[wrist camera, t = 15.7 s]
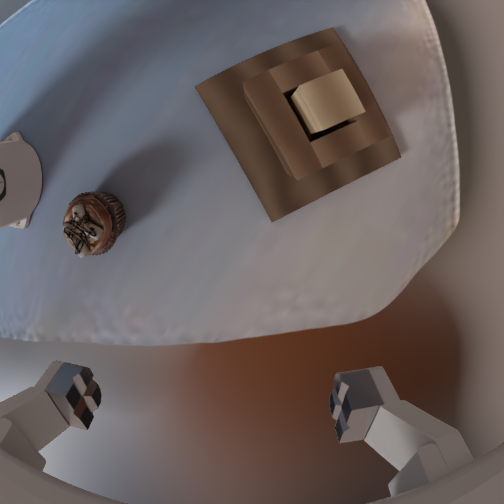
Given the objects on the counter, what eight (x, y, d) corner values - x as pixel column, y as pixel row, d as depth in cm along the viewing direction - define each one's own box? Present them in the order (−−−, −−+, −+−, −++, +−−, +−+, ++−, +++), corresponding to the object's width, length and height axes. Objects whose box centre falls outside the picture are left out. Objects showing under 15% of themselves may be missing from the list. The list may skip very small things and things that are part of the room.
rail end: (302, 136, 32) (324, 129, 22) (284, 105, 31) (299, 85, 21) (332, 122, 32) (365, 111, 21) (316, 91, 30) (342, 68, 20)
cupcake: (97, 174, 38) (61, 183, 29) (141, 211, 40) (112, 228, 31) (73, 221, 41) (38, 239, 31) (113, 256, 43) (84, 282, 33)
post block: (271, 219, 41) (277, 242, 31) (196, 89, 34) (178, 69, 24) (396, 156, 37) (435, 161, 27) (330, 31, 31) (351, 1, 21)
